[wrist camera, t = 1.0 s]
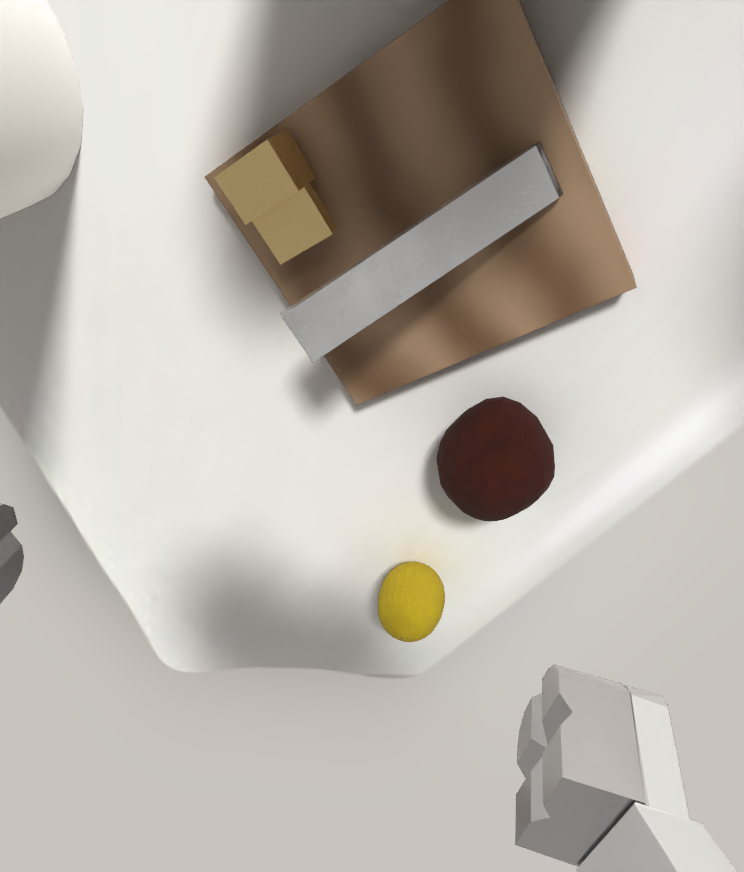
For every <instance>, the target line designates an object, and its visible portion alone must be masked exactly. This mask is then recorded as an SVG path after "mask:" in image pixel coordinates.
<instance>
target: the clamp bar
mask: <svg viewBox="0 0 744 872" xmlns="http://www.w3.org/2000/svg"><path fill="white" fill-rule="evenodd" d="M563 194H564V193H563V191H562V189H561V186H560V184H559V182H558V180H557V177H556V175H555V173H554V170H553V168H552V166H551V164H550V161H549V159H548V157H547V155H546V152H545V150H544V148H543V145H542V143H541V141H538V142H536V143H534V144H532V145H530V146H529V147H527V148H526V149H524V150H523V151H521V152H520V153H518V154H517V155H515V156H514V157H512V158H511V159H509V160H508V161H506V162H505V163H503V164H502V165H500V166H499V167H497V168H496V169H494V170H493V171H492V172H490V173H489V174H487V175H486V176H484V177H483V178H481V179H480V180H478V181H477V182H475V183H474V184H472V185H471V186H469V187H468V188H466V189H465V190H463V191H462V192H460V193H459V194H457V195H456V196H454V197H453V198H451V199H450V200H448V201H447V202H445V203H444V204H442V205H441V206H439V207H438V208H436V209H435V210H433V211H432V212H430V213H429V214H427V215H426V216H424V217H423V218H421V219H420V220H418V221H417V222H415V223H414V224H412V225H411V226H410V227H408V228H407V229H405V230H404V231H402V232H401V233H399V234H398V235H396V236H395V237H393V238H392V239H390V240H389V241H387V242H386V243H384V244H383V245H381V246H380V247H378V248H377V249H375V250H374V251H372V252H371V253H369V254H368V255H366V256H365V257H363V258H362V259H360V260H359V261H357V262H356V263H354V264H353V265H351V266H350V267H348V268H347V269H345V270H344V271H342V272H341V273H339V274H338V275H336V276H335V277H333V278H332V279H331V280H329V281H328V282H326V283H325V284H323V285H322V286H320V287H319V288H317V289H316V290H314V291H313V292H311V293H310V294H308V295H307V296H305V297H304V298H302V299H301V300H299V301H298V302H296V303H295V304H293V305H292V306H290V307H289V308H287V309H286V310H284V311H283V312H281V313H280V314H281V316H282V318H283V319H284V321H285V322H286V324H287V325H288V327H289V328H290V330H291V331H292V333H293V334H294V336H295V337H296V338H297V340H298V341H299V343H300V344H301V346H302V347H303V349H304V350H305V352H306V353H307V355H308V356H309V358H310V359H311V361H312V362H315V361H316V360H318V359H319V358H321V357H322V356H324V355H325V354H327V353H328V352H330V351H331V350H333V349H334V348H336V347H337V346H338V345H340V344H341V343H343V342H344V341H346V340H347V339H349V338H350V337H352V336H353V335H355V334H356V333H358V332H359V331H361V330H362V329H364V328H365V327H367V326H368V325H370V324H371V323H373V322H374V321H376V320H377V319H379V318H380V317H382V316H383V315H385V314H386V313H388V312H389V311H391V310H392V309H394V308H395V307H397V306H398V305H400V304H401V303H403V302H404V301H406V300H407V299H409V298H410V297H412V296H413V295H415V294H416V293H418V292H419V291H421V290H422V289H424V288H425V287H427V286H428V285H430V284H431V283H433V282H434V281H436V280H437V279H439V278H440V277H442V276H443V275H444V274H446V273H447V272H449V271H450V270H452V269H453V268H455V267H456V266H458V265H459V264H461V263H462V262H464V261H465V260H467V259H468V258H470V257H471V256H473V255H474V254H476V253H477V252H479V251H480V250H482V249H483V248H485V247H486V246H488V245H489V244H491V243H492V242H494V241H495V240H497V239H498V238H500V237H501V236H503V235H504V234H506V233H507V232H509V231H510V230H512V229H513V228H515V227H516V226H518V225H519V224H521V223H522V222H524V221H525V220H527V219H528V218H530V217H531V216H533V215H534V214H536V213H537V212H539V211H540V210H542V209H543V208H545V207H546V206H547V205H549V204H550V203H552V202H553V201H555V200H556V199H558V198H559V197H561V196H562V195H563Z"/></svg>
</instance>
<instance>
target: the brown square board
mask: <svg viewBox="0 0 744 872" xmlns="http://www.w3.org/2000/svg"><path fill="white" fill-rule="evenodd" d="M286 129H288V130H289V132H290V133H291V135H292V137H293V138H294V140H295V142H296V144H297V145H298V147H299V149H300V150H301V152H302V154H303V155H304V157H305V159H306V160H307V162H308V164H309V165H310V167H311V169H312V170H313V172H314V174H315V175H316V178H314V179H313V180H312V181H311V182H310V184H311V186H312V187H313V189H314V191H315V192H316V194H317V196H318V197H319V199H320V201H321V202H322V204H323V206H324V207H325V209H326V211H327V212H328V214H329V216H330V217H331V219H332V220H333V222H334V224H335V225H336V227H337V230H336V231H335V232H334V233H333V234H332V235H330V236H329V237H327V238H325V239H324V240H322V241H320V242H319V243H317V244H315V245H313V246H312V247H310V248H308V249H307V250H305V251H303V252H301V253H300V254H298V255H296V256H295V257H293V258H291V259H289V260H288V261H286V262H284V263H283V264H281V265H280V263H279V262H278V260H277V259H276V257H275V256H274V254H273V253H272V251H271V250H270V248H269V247H268V245H267V244H266V242H265V241H264V239H263V238H262V236H261V234H260V233H259V231H258V230H257V228H256V227H255V225H254V224H253V222H252V221H251V222H250V223H248V224H247V225H245V224H244V222H243V221H242V219H241V218H240V216H239V215H238V213H237V212H236V210H235V209H234V207H233V206H232V204H231V203H230V201H229V200H228V198H227V197H226V195H225V194H224V192H223V191H222V189H221V187H220V186H219V184H218V183H217V181H216V180H215V178H214V177H215V176H217V175H218V174H219V173H221V172H222V171H224V170H225V169H226V168H228V167H229V166H231V165H232V164H233V163H235V162H236V161H238V160H239V159H240V158H242V157H243V156H245V155H246V154H247V153H249V152H250V151H252V150H253V149H255V148H256V147H257V146H259V145H260V144H262V143H263V142H264V141H266V140H267V139H269V138H271V137H273V136H275V135H277V134H278V133H280V132H282V131H284V130H286ZM538 141H541V143H542V145H543V148H544V150H545V152H546V155H547V157H548V159H549V161H550V164H551V166H552V168H553V170H554V173H555V175H556V177H557V180H558V182H559V184H560V186H561V189H562V191H563V193H564V194H563V195H562V196H561V197H559V198H558V199H556V200H555V201H553V202H552V203H550V204H549V205H547V206H546V207H545V208H543V209H542V210H540V211H539V212H537V213H536V214H534V215H533V216H531V217H530V218H528V219H527V220H525V221H524V222H522V223H521V224H519V225H518V226H516V227H515V228H513V229H512V230H510V231H509V232H507V233H506V234H504V235H503V236H501V237H500V238H498V239H497V240H495V241H494V242H492V243H491V244H489V245H488V246H486V247H485V248H483V249H482V250H480V251H479V252H477V253H476V254H474V255H473V256H471V257H470V258H468V259H467V260H465V261H464V262H462V263H461V264H459V265H458V266H456V267H455V268H453V269H452V270H450V271H449V272H447V273H446V274H444V275H443V276H442V277H440V278H439V279H437V280H436V281H434V282H433V283H431V284H430V285H428V286H427V287H425V288H424V289H422V290H421V291H419V292H418V293H416V294H415V295H413V296H412V297H410V298H409V299H407V300H406V301H404V302H403V303H401V304H400V305H398V306H397V307H395V308H394V309H392V310H391V311H389V312H388V313H386V314H385V315H383V316H382V317H380V318H379V319H377V320H376V321H374V322H373V323H371V324H370V325H368V326H367V327H365V328H364V329H362V330H361V331H359V332H358V333H356V334H355V335H353V336H352V337H350V338H349V339H347V340H346V341H344V342H343V343H341V344H340V345H338V346H337V347H336V348H334V349H333V350H331V351H330V352H328V353H327V354H325V355H324V356H325V358H326V359H327V361H328V362H329V364H330V365H331V367H332V368H333V370H334V371H335V373H336V374H337V376H338V377H339V379H340V380H341V382H342V383H343V385H344V386H345V388H346V389H347V391H348V392H349V394H350V395H351V397H352V398H353V400H354V401H355V403H356V404H357V405H358V404H360V403H363V402H365V401H367V400H370V399H372V398H375V397H377V396H379V395H382V394H384V393H387V392H389V391H391V390H394V389H396V388H398V387H401V386H403V385H406V384H408V383H410V382H413V381H415V380H417V379H420V378H422V377H425V376H427V375H429V374H432V373H434V372H437V371H439V370H441V369H444V368H446V367H448V366H451V365H453V364H456V363H458V362H460V361H463V360H465V359H467V358H470V357H472V356H475V355H477V354H479V353H482V352H484V351H487V350H489V349H491V348H494V347H496V346H498V345H501V344H503V343H506V342H508V341H510V340H513V339H515V338H517V337H520V336H522V335H525V334H527V333H529V332H532V331H534V330H537V329H539V328H541V327H544V326H546V325H548V324H551V323H553V322H556V321H558V320H560V319H563V318H565V317H567V316H570V315H572V314H575V313H577V312H579V311H582V310H584V309H586V308H589V307H591V306H594V305H596V304H598V303H601V302H603V301H606V300H608V299H610V298H613V297H615V296H617V295H620V294H622V293H625V292H627V291H629V290H632V289H634V288H636V283H635V279H634V275H633V273H632V270H631V268H630V266H629V263H628V261H627V258H626V256H625V254H624V251H623V249H622V246H621V244H620V242H619V239H618V237H617V234H616V232H615V230H614V227H613V225H612V222H611V220H610V217H609V215H608V213H607V210H606V208H605V205H604V203H603V201H602V198H601V196H600V193H599V191H598V189H597V186H596V184H595V181H594V179H593V177H592V174H591V172H590V169H589V167H588V165H587V162H586V160H585V157H584V155H583V153H582V150H581V148H580V145H579V143H578V141H577V138H576V136H575V133H574V131H573V129H572V126H571V124H570V121H569V119H568V117H567V114H566V112H565V109H564V107H563V104H562V102H561V100H560V97H559V95H558V92H557V90H556V88H555V85H554V83H553V80H552V78H551V76H550V73H549V71H548V68H547V66H546V64H545V61H544V59H543V56H542V54H541V52H540V49H539V47H538V44H537V42H536V40H535V37H534V35H533V32H532V30H531V28H530V25H529V23H528V20H527V18H526V16H525V13H524V11H523V8H522V6H521V3H520V1H519V0H449V1H448V2H447V3H445V4H444V5H442V6H441V7H440V8H438V9H437V10H435V11H434V12H433V13H431V14H430V15H429V16H427V17H426V18H424V19H423V20H422V21H420V22H419V23H417V24H416V25H415V26H413V27H412V28H410V29H409V30H408V31H406V32H405V33H404V34H402V35H401V36H399V37H398V38H397V39H395V40H394V41H392V42H391V43H390V44H388V45H387V46H386V47H384V48H383V49H381V50H380V51H379V52H377V53H376V54H374V55H373V56H372V57H370V58H369V59H368V60H366V61H365V62H363V63H362V64H361V65H359V66H358V67H356V68H355V69H354V70H352V71H351V72H349V73H348V74H347V75H345V76H344V77H343V78H341V79H340V80H338V81H337V82H336V83H334V84H333V85H331V86H330V87H329V88H327V89H326V90H325V91H323V92H322V93H320V94H319V95H318V96H316V97H315V98H313V99H312V100H311V101H309V102H308V103H307V104H305V105H304V106H302V107H301V108H300V109H298V110H297V111H295V112H294V113H293V114H291V115H290V116H288V117H287V118H286V119H284V120H283V121H282V122H280V123H279V124H277V125H276V126H275V127H273V128H272V129H270V130H269V131H268V132H266V133H265V134H264V135H262V136H261V137H259V138H258V139H257V140H255V141H254V142H252V143H251V144H250V145H248V146H247V147H246V148H244V149H243V150H241V151H240V152H239V153H237V154H236V155H234V156H233V157H232V158H230V159H229V160H227V161H226V162H225V163H223V164H222V165H221V166H219V167H218V168H216V169H215V170H214V171H212V172H211V173H209V174H208V175H207V176H205V178H206V180H207V181H208V183H209V184H210V186H211V187H212V189H213V190H214V192H215V193H216V195H217V196H218V198H219V199H220V201H221V202H222V204H223V205H224V207H225V208H226V210H227V211H228V213H229V214H230V216H231V217H232V219H233V220H234V222H235V223H236V225H237V226H238V228H239V229H240V231H241V232H242V234H243V235H244V237H245V238H246V240H247V241H248V243H249V244H250V246H251V247H252V249H253V250H254V252H255V253H256V255H257V256H258V258H259V259H260V261H261V262H262V264H263V265H264V267H265V268H266V270H267V271H268V273H269V274H270V276H271V277H272V279H273V280H274V282H275V283H276V285H277V286H278V288H279V289H280V291H281V292H282V294H283V295H284V297H285V298H286V300H287V301H288V303H289V304H290V306H292V305H293V304H295V303H296V302H298V301H299V300H301V299H302V298H304V297H305V296H307V295H308V294H310V293H311V292H313V291H314V290H316V289H317V288H319V287H320V286H322V285H323V284H325V283H326V282H328V281H329V280H331V279H332V278H333V277H335V276H336V275H338V274H339V273H341V272H342V271H344V270H345V269H347V268H348V267H350V266H351V265H353V264H354V263H356V262H357V261H359V260H360V259H362V258H363V257H365V256H366V255H368V254H369V253H371V252H372V251H374V250H375V249H377V248H378V247H380V246H381V245H383V244H384V243H386V242H387V241H389V240H390V239H392V238H393V237H395V236H396V235H398V234H399V233H401V232H402V231H404V230H405V229H407V228H408V227H410V226H411V225H412V224H414V223H415V222H417V221H418V220H420V219H421V218H423V217H424V216H426V215H427V214H429V213H430V212H432V211H433V210H435V209H436V208H438V207H439V206H441V205H442V204H444V203H445V202H447V201H448V200H450V199H451V198H453V197H454V196H456V195H457V194H459V193H460V192H462V191H463V190H465V189H466V188H468V187H469V186H471V185H472V184H474V183H475V182H477V181H478V180H480V179H481V178H483V177H484V176H486V175H487V174H489V173H490V172H492V171H493V170H494V169H496V168H497V167H499V166H500V165H502V164H503V163H505V162H506V161H508V160H509V159H511V158H512V157H514V156H515V155H517V154H518V153H520V152H521V151H523V150H524V149H526V148H527V147H529V146H530V145H532V144H534V143H536V142H538Z"/></svg>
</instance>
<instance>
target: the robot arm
mask: <svg viewBox="0 0 744 872" xmlns="http://www.w3.org/2000/svg"><path fill="white" fill-rule="evenodd" d="M17 524H18V523H17V519H16V515H15V512H14V508H13V507H11V506H8V505H5V504H2V503H0V603H1V602H2V601H3V600H4V599H5V598H6V596H7V595H8V594H9V593H10V592H11V591H12V589H13V588H14V586H15V584H16V582H17V580H18V578H19V576H20V573H21V571H22V566H23V559H24V555H23V549H22V545H21V544H20V542H19V541H18V540H17V539H16V538H15V536H14V535H13V534H12V533H11V532H10V531H11V530H12V529H13V528H14V527H15V526H16V525H17ZM517 752H518V753H517V764H518V765H519V767H520V769H521V771H522V773H523V774H524V776H525V778H526V779H525V781H524V783H523V785H522V786H521V788H520V789H519V791H518V792H517V794H516V835H515V838H516V839H515V845H517V846H520V847H523V848H526V849H529V850H532V851H535V852H538V853H541V854H543V855H546V856H549V857H552V858H555V859H558V860H561V861H564V862H567V863H570V864H572V865H576V866H578V868H577V872H736V870H735V869H734V868H733V866H732V865H731V863H730V862H729V861H728V859H727V858H726V856H725V855H724V854H723V852H722V851H721V849H720V848H719V846H718V845H717V844H716V842H715V841H714V839H713V838H712V836H711V835H710V834H709V832H708V831H707V829H706V828H705V827H704V825H703V824H702V823H701V822H698V821H695V820H692V819H690V815H689V810H688V805H687V800H686V795H685V790H684V785H683V780H682V775H681V770H680V764H679V759H678V755H677V749H676V744H675V739H674V734H673V729H672V724H671V720H670V714H669V709H668V704H667V703H666V701H665V699H664V698H663V696H659V695H655V694H653V693H649V692H646V691H643V690H639V689H636V688H632V687H629V686H624V685H623V684H621V683H617V682H614V681H611V680H607V679H603V678H600V677H596V676H593V675H589V674H586V673H581V672H578V671H575V670H571V669H568V668H564V667H561V666H557V665H553V666H551V667H550V668H549V669H548V670H547V672H546V674H545V675H544V677H543V679H542V694H539V695H537V696H534V697H532V698H531V700H530V702H529V704H528V706H527V708H526V710H525V712H524V716H523V719H522V724H521V727H520V731H519V740H518V750H517Z"/></svg>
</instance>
